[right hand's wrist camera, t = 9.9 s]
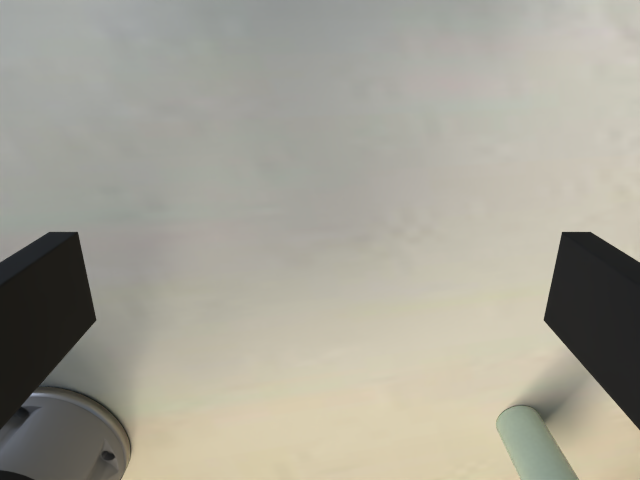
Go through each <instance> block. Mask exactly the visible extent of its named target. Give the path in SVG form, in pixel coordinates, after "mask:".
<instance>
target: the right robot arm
mask: <svg viewBox="0 0 640 480" xmlns="http://www.w3.org/2000/svg"><path fill="white" fill-rule="evenodd" d="M95 321H96V316H95V311H94V307H93V302H92V297H91V292H90V288H89V283H88V278H87V273H86V269H85V264H84V259H83V254H82V250H81V245H80V240H79V235H78V232H49V233H47V234H46V235H44V236H42V237H41V238H39V239H37V240H36V241H34V242H33V243H31V244H29V245H28V246H26V247H25V248H23V249H21V250H20V251H18V252H16V253H15V254H13V255H12V256H10V257H8V258H7V259H5V260H4V261H2V262H0V480H121V478H122V477H123V474H124V472H125V470H126V468H127V466H128V463H129V459H130V444H129V440H128V437H127V435H126V433H125V430H124V429H123V427H122V425H121V424H120V423H119V421H118V420H117V419H116V418H115V417H114V416H113V415H112V414H111V413H110V412H109V411H108V410H107V409H106V408H104V407H103V406H102V405H100V404H99V403H97V402H95V401H94V400H92V399H90V398H88V397H86V396H84V395H81V394H79V393H76V392H73V391H70V390H65V389H61V388H54V387H38V386H39V385H40V384H41V383H42V382H43V381H44V379H45V378H46V377H47V376H48V375H49V374H50V373H51V371H52V370H53V369H54V368H55V367H56V366H57V365H58V363H59V362H60V361H61V360H62V359H63V358H64V357H65V355H66V354H67V353H68V352H69V351H70V350H71V349H72V347H73V346H74V345H75V344H76V343H77V342H78V341H79V339H80V338H81V337H82V336H83V335H84V334H85V333H86V331H87V330H88V329H89V328H90V327H91V326H92V325H93V323H94V322H95ZM544 321H545V322H546V323H547V325H548V326H549V327H550V328H551V329H552V330H553V331H554V333H555V334H556V335H557V336H558V337H559V338H560V339H561V341H562V342H563V343H564V344H565V345H566V346H567V347H568V349H569V350H570V351H571V352H572V353H573V354H574V355H575V357H576V358H577V359H578V360H579V361H580V362H581V363H582V365H583V366H584V367H585V368H586V369H587V370H588V371H589V373H590V374H591V375H592V376H593V377H594V378H595V379H596V381H597V382H598V383H599V384H600V385H601V386H602V387H603V389H604V390H605V391H606V392H607V393H608V394H609V395H610V397H611V398H612V399H613V400H614V401H615V402H616V403H617V405H618V406H619V407H620V408H621V409H622V410H623V411H624V413H625V414H626V415H627V416H628V417H629V418H630V419H631V421H632V422H633V423H634V424H635V425H636V426H637V427H638V429H639V430H640V262H638V261H636V260H635V259H633V258H632V257H630V256H628V255H627V254H625V253H624V252H622V251H620V250H619V249H617V248H615V247H614V246H612V245H611V244H609V243H607V242H606V241H604V240H603V239H601V238H599V237H598V236H596V235H594V234H593V233H591V232H562V235H561V240H560V245H559V250H558V254H557V259H556V264H555V269H554V273H553V278H552V283H551V288H550V292H549V297H548V302H547V307H546V311H545V316H544Z"/></svg>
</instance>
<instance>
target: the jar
mask: <svg viewBox="0 0 640 480" xmlns="http://www.w3.org/2000/svg"><path fill="white" fill-rule="evenodd" d="M496 428H497V431H498V433H499V435H500V437H501V439H502V441H503V443H504V445H505V447H506V450H507V452H508V454H509V456H510V458H511V460H512V462H513V464H514V466H515V468H516V471H517V473H518V475H519V477H520V479H521V480H579V479H578V477H577V476H576V474H575V472H574V471H573V469H572V467H571V466H570V464H569V463H568V461H567V459H566V458H565V456H564V454H563V453H562V451H561V449H560V448H559V446H558V445H557V443H556V441H555V440H554V438H553V436H552V435H551V433H550V432H549V430H548V428H547V427H546V425H545V423H544V422H543V420H542V419H541V417H540V415H539V414H538V412H537V411H536V410H535V409H533V408H531V407H528V406H514V407H511V408H509V409H507V410H505V411H504V412H503V413H502V414H501V415H500V416H499V418H498V419H497V423H496Z"/></svg>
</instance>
